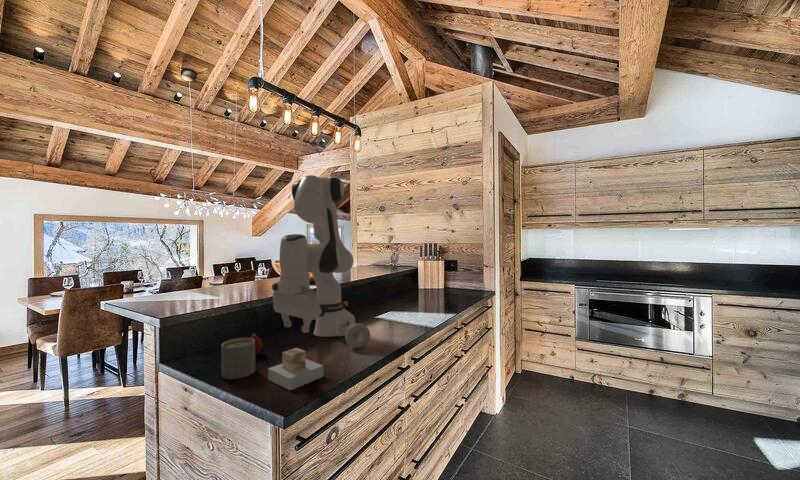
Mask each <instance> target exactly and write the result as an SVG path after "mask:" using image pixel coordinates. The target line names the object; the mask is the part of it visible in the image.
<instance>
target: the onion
mask: <svg viewBox="0 0 800 480" xmlns="http://www.w3.org/2000/svg"><path fill="white" fill-rule="evenodd" d="M250 338H252V339H254V340H255V356H256V355H257V354H258V353H259V352H260V351H261V350H262V349H263V341H262V339H261V338H260V337H259V336H257V334H256V333H253V334H252V335H251V336H250Z"/></svg>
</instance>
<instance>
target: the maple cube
mask: <svg viewBox="0 0 800 480" xmlns="http://www.w3.org/2000/svg"><path fill="white" fill-rule="evenodd" d="M281 354H282V357H281V358H282V359H281V361H282V362H281V364H282V368H284V369H286V370H288V371H290V372H293V371H296V370H298V369H301V368H304V367H306V359H307V357H306V350H304V349H301V348H299V347H294V348H292V349H288V350H284V351H282V353H281Z"/></svg>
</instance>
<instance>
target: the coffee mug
mask: <svg viewBox="0 0 800 480" xmlns="http://www.w3.org/2000/svg"><path fill="white" fill-rule="evenodd" d="M220 348H221V349H220V350H221V351H220V355H221V377H222V378H223V379H225V380H237V379H238V380H239V379H243V378H245V377H248V376H251V375H252V374H254V373H255V372H256V355H255V340H254V339H252V338H251V337H239V338H238V337H237V338H233V339H229V340H227V341H224V342H223V343H221V347H220Z"/></svg>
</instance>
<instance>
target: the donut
mask: <svg viewBox="0 0 800 480" xmlns="http://www.w3.org/2000/svg"><path fill="white" fill-rule="evenodd" d="M355 323H356V322H355ZM357 333H360V334H361V337H360V338H359V339H356V338H355V337H354V336H355V334H357ZM344 338H345V342H346V344H347V345H348V346H349V347H350V348H352V349H357V348H358V349H362V348H364V347H365V346H366V345H368V343H369V342H370V338H371V332H370V329H369V327H368V326H366V324H363V323H360V322H358V323H356V324H353V325H351V326H350V327H349V328H348V329H347V331H346V334H345V335H344Z"/></svg>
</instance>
